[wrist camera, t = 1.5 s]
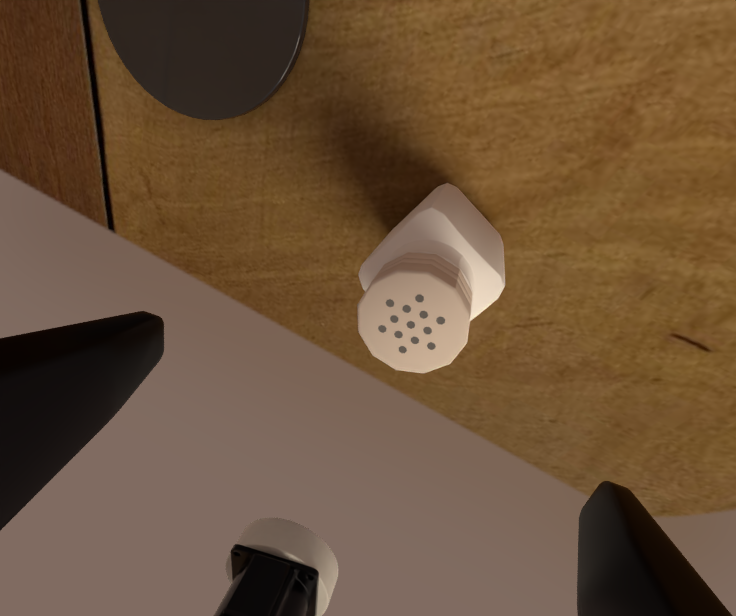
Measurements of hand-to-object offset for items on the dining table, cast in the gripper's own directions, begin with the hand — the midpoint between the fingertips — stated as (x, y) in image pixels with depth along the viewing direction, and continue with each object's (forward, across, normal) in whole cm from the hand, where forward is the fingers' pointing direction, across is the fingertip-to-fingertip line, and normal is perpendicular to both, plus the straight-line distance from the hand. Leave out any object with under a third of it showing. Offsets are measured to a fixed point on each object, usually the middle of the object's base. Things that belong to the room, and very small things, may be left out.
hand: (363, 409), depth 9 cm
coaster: (+14, +13, -6) cm, 20 cm away
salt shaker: (+14, 0, +1) cm, 14 cm away
